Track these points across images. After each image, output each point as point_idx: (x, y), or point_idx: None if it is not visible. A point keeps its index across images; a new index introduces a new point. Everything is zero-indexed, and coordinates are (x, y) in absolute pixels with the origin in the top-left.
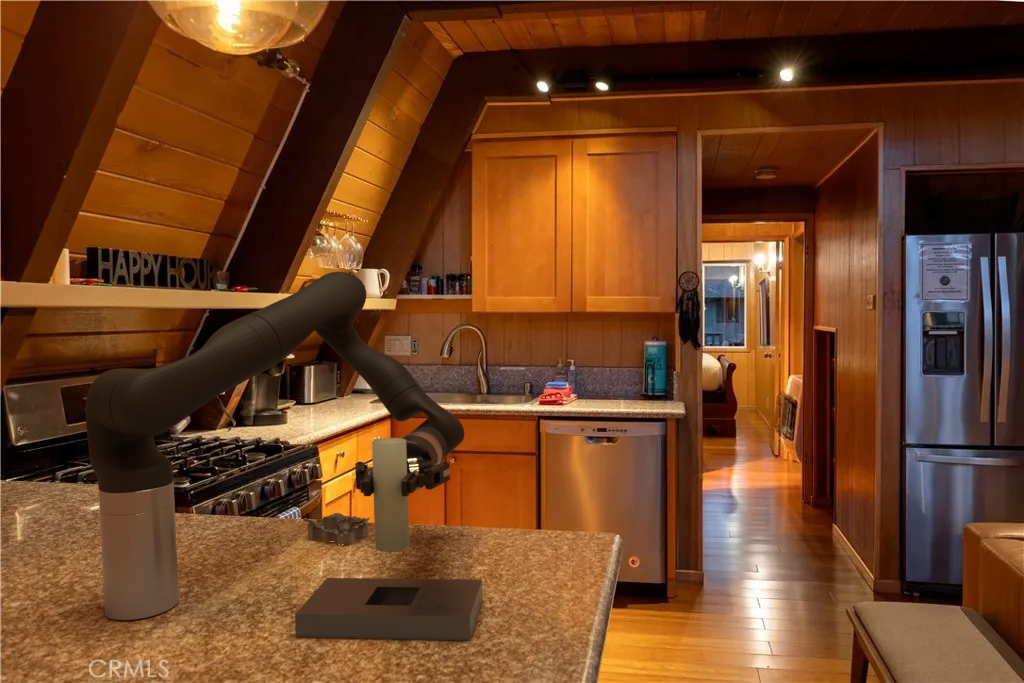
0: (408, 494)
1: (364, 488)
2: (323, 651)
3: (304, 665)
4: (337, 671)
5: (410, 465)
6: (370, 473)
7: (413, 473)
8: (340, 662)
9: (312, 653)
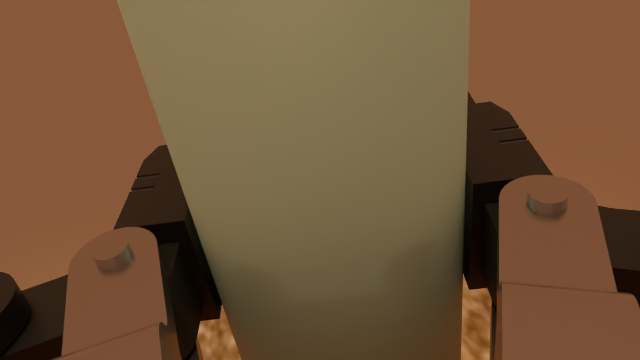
0: None
1: None
2: (485, 353)
3: (487, 300)
4: None
5: (146, 328)
6: (529, 182)
7: (134, 231)
8: None
9: None
